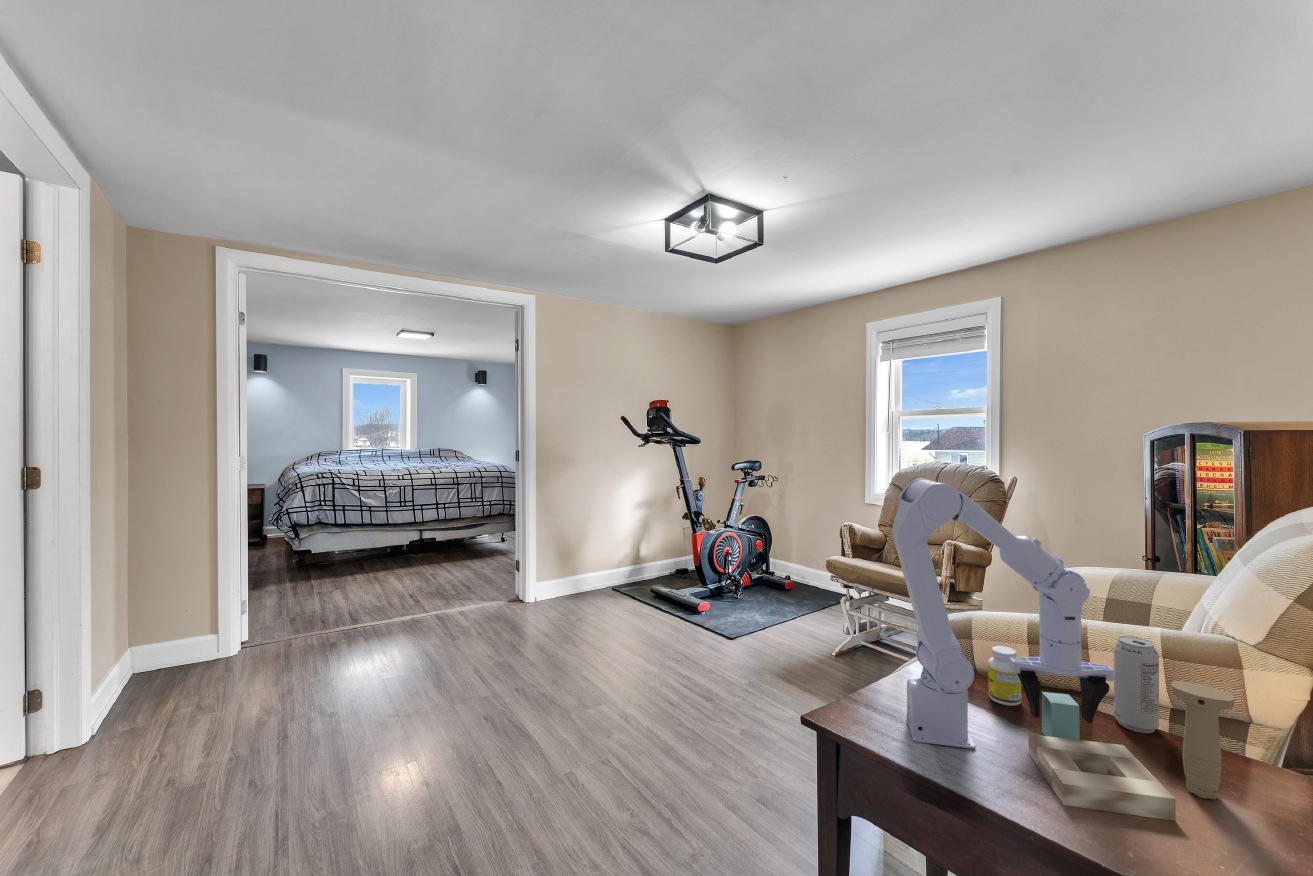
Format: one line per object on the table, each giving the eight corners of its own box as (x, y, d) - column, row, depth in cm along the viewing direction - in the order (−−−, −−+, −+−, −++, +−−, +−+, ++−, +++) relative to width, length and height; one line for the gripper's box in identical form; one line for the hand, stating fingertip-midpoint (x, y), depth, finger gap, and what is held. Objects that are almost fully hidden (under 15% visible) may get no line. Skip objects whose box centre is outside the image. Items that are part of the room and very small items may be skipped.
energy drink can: (1128, 714, 102) (1128, 633, 101) (1167, 731, 96) (1167, 645, 96) (1105, 720, 100) (1105, 637, 100) (1144, 738, 94) (1144, 650, 94)
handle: (1233, 813, 76) (1234, 704, 76) (1170, 791, 81) (1170, 689, 80) (1234, 796, 79) (1234, 692, 79) (1172, 776, 84) (1172, 678, 84)
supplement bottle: (989, 690, 112) (989, 642, 111) (1022, 697, 108) (1021, 648, 108) (987, 701, 107) (986, 651, 107) (1020, 709, 104) (1020, 657, 104)
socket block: (1063, 804, 78) (1063, 783, 78) (1028, 752, 91) (1028, 734, 91) (1175, 821, 75) (1175, 799, 75) (1123, 764, 87) (1123, 745, 87)
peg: (1051, 744, 93) (1051, 703, 93) (1041, 731, 97) (1041, 691, 96) (1079, 747, 92) (1079, 705, 92) (1068, 734, 96) (1068, 694, 95)
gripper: (1098, 632, 96) (1099, 710, 96) (1003, 626, 100) (1004, 701, 100) (1120, 648, 89) (1121, 732, 89) (1017, 641, 93) (1018, 721, 93)
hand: (1060, 717), depth 94 cm, fingers open, 7 cm apart
